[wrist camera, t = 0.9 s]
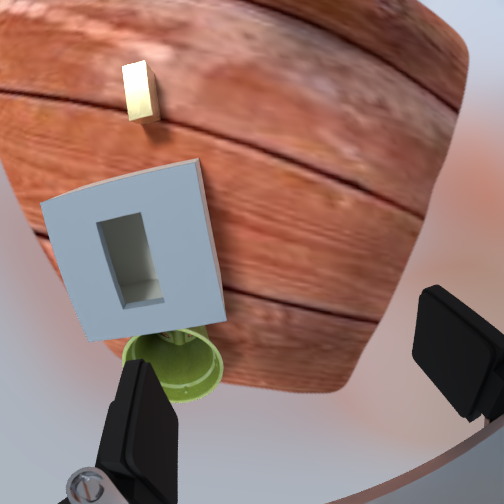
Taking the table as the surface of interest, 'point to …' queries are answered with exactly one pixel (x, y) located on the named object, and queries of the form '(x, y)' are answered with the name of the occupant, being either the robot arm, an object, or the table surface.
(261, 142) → the table surface
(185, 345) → the plant pot
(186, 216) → the grey slotted box
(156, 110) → the block
